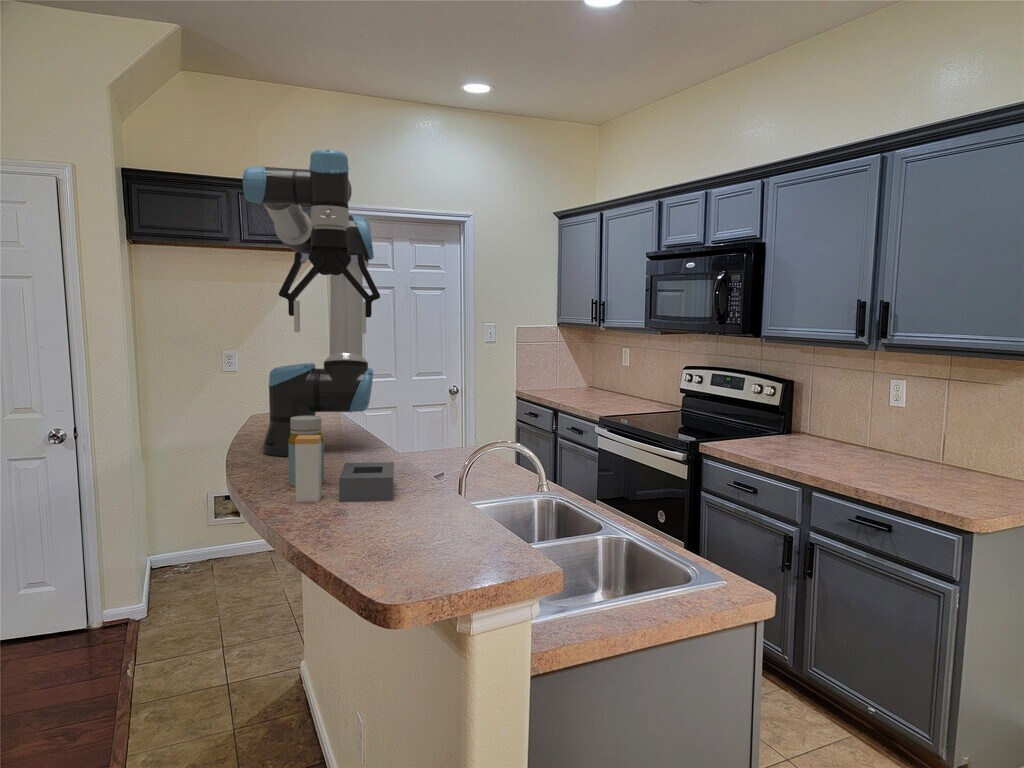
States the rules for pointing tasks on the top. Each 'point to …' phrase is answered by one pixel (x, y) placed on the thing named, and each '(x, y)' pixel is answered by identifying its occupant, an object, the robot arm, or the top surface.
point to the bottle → (303, 427)
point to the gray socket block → (366, 482)
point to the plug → (308, 468)
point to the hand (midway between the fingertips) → (330, 333)
